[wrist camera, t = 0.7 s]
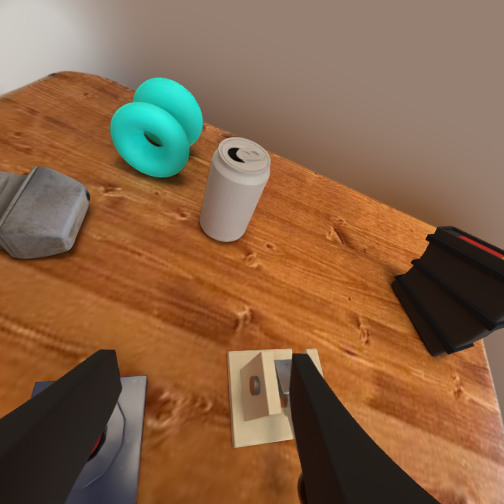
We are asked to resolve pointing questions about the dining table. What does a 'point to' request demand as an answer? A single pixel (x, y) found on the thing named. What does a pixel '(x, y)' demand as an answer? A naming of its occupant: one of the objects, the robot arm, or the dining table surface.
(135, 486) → the push button base
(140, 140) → the turquoise spool
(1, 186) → the handheld device
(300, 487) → the toggle
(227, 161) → the beverage can
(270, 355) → the switch box
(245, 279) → the dining table surface
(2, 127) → the dining table surface
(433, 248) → the magazine
